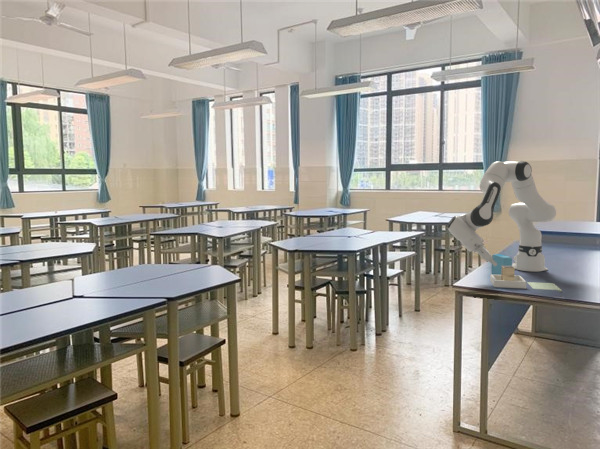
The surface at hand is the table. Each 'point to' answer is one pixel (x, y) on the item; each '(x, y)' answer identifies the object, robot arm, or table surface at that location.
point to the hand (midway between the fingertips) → (494, 263)
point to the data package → (500, 263)
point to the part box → (507, 273)
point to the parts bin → (508, 282)
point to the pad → (544, 286)
